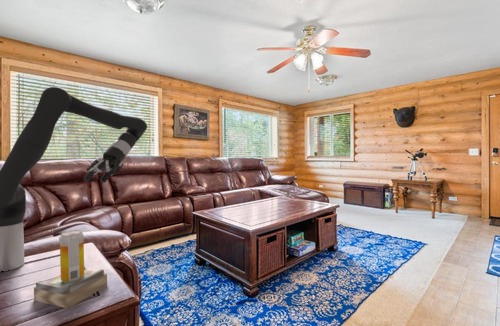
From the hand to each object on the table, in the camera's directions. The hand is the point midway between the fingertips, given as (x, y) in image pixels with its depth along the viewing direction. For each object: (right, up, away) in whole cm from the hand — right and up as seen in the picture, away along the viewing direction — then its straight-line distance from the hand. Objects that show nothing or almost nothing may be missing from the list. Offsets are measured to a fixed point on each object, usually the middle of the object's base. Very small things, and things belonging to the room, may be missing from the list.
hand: (93, 180), depth 95 cm
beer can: (+5, -30, -17) cm, 35 cm away
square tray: (+5, -34, -17) cm, 39 cm away
